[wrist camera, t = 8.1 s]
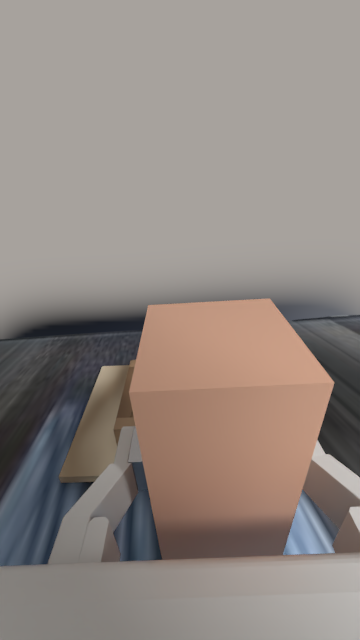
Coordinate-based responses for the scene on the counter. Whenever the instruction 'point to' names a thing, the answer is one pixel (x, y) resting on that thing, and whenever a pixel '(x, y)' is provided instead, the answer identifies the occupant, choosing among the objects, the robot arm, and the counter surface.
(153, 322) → the block
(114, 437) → the housing
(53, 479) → the counter surface
